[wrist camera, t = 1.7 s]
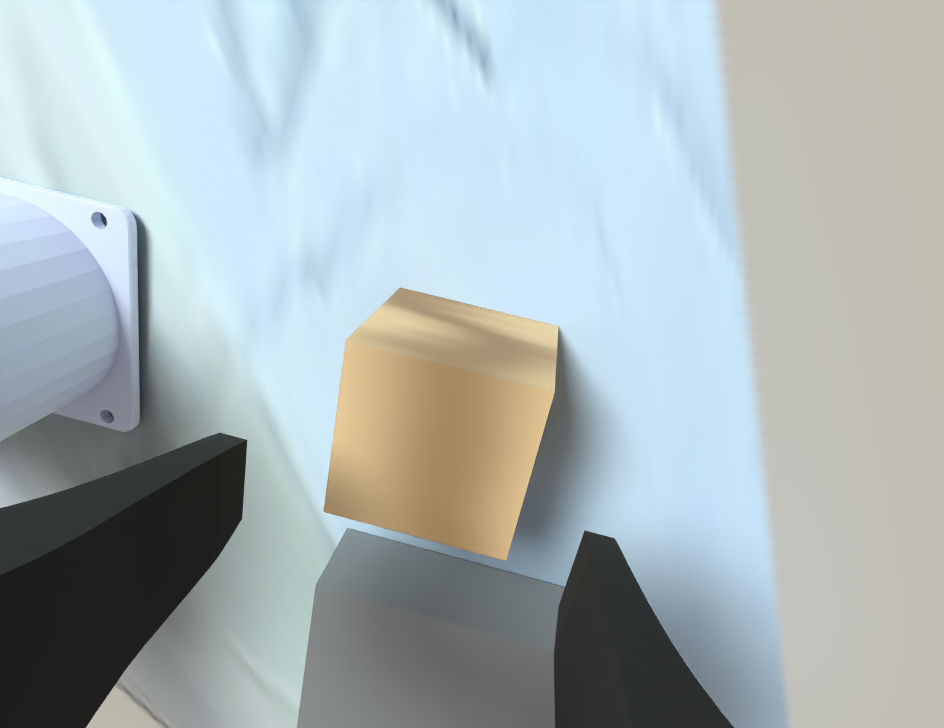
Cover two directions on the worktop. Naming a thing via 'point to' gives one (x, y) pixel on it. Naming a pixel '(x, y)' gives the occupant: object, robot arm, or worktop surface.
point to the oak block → (441, 420)
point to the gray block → (427, 642)
